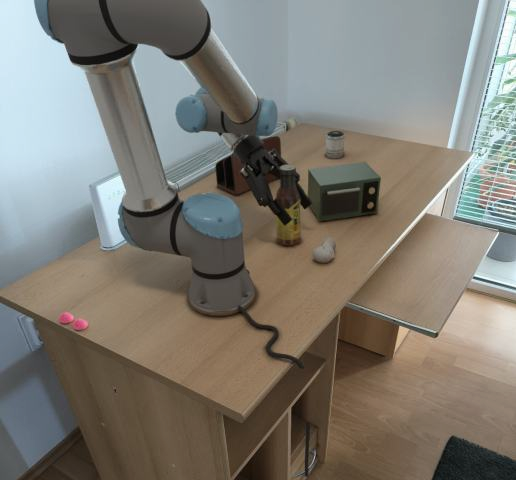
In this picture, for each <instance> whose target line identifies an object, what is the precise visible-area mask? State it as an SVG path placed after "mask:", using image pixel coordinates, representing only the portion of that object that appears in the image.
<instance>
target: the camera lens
mask: <svg viewBox="0 0 516 480" xmlns="http://www.w3.org/2000/svg"><path fill="white" fill-rule="evenodd" d="M345 137H346V135H345V134H344V132H343V131H340V130H332V131H329V132H328V133H327V134H325V154H326V157H327V158H329V159H340V158H342V157H343V156H344V151H345Z"/></svg>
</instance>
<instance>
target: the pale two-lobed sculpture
mask: <svg viewBox="0 0 516 480" xmlns="http://www.w3.org/2000/svg"><path fill="white" fill-rule="evenodd" d="M336 247H337V244H336V241H335V239H334V238H333V237H326V238H324V239H323V240H322V242H321V245H320V246H318V247H315V248H314V249H313V251H312V257H313V259H314V260H315V261H316V262H317V263H322V264H325V263H326V264H327V263H329V262H330V261H331V260H333V259H334V258H335V249H336Z"/></svg>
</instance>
